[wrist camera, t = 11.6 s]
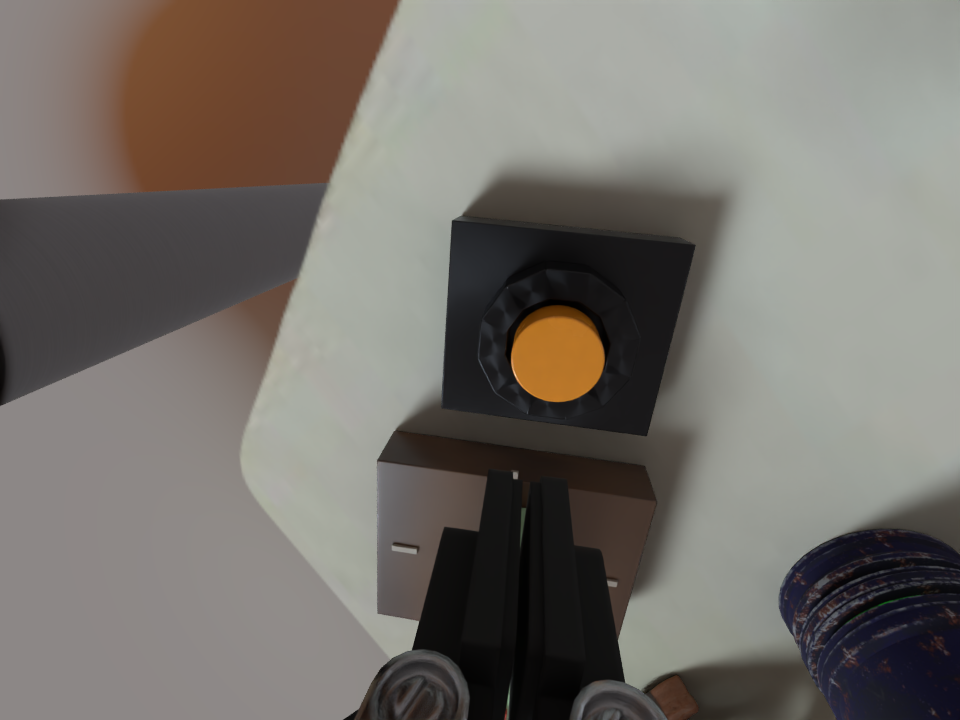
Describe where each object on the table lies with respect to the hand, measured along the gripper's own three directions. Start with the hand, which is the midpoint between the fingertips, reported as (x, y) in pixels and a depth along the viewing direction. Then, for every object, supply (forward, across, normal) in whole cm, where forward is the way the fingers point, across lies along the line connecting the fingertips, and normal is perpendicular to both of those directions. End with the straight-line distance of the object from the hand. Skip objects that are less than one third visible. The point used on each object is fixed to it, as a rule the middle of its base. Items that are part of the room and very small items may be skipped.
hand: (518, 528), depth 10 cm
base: (+14, 0, +12) cm, 19 cm away
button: (+11, -1, -1) cm, 11 cm away
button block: (+14, -1, 0) cm, 14 cm away
